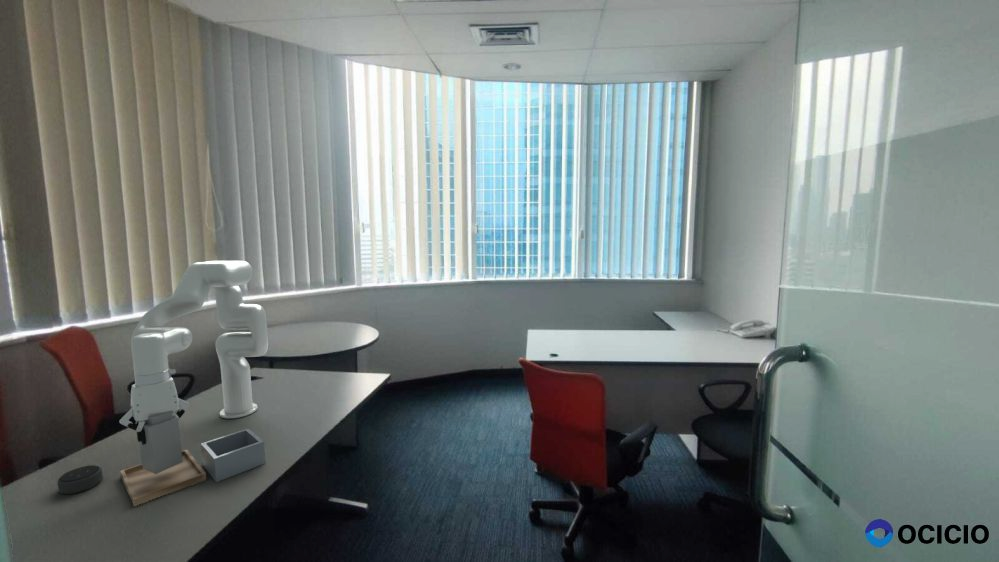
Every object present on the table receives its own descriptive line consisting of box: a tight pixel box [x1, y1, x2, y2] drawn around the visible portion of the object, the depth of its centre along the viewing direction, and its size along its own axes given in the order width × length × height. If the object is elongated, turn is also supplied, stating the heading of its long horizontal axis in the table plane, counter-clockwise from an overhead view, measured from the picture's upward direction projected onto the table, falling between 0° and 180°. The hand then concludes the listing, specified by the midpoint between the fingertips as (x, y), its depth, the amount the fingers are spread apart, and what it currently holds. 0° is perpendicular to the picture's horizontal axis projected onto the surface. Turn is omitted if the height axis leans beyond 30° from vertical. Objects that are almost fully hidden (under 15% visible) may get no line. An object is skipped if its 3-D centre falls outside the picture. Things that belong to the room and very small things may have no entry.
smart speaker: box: [56, 464, 103, 495], centre depth 120 cm, size 9×9×4 cm
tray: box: [119, 449, 207, 507], centre depth 124 cm, size 20×16×2 cm
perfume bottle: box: [139, 411, 182, 474], centre depth 122 cm, size 7×7×18 cm
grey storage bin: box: [200, 428, 266, 483], centre depth 131 cm, size 13×13×7 cm
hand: (159, 437), depth 122 cm, fingers closed on perfume bottle, 6 cm apart
